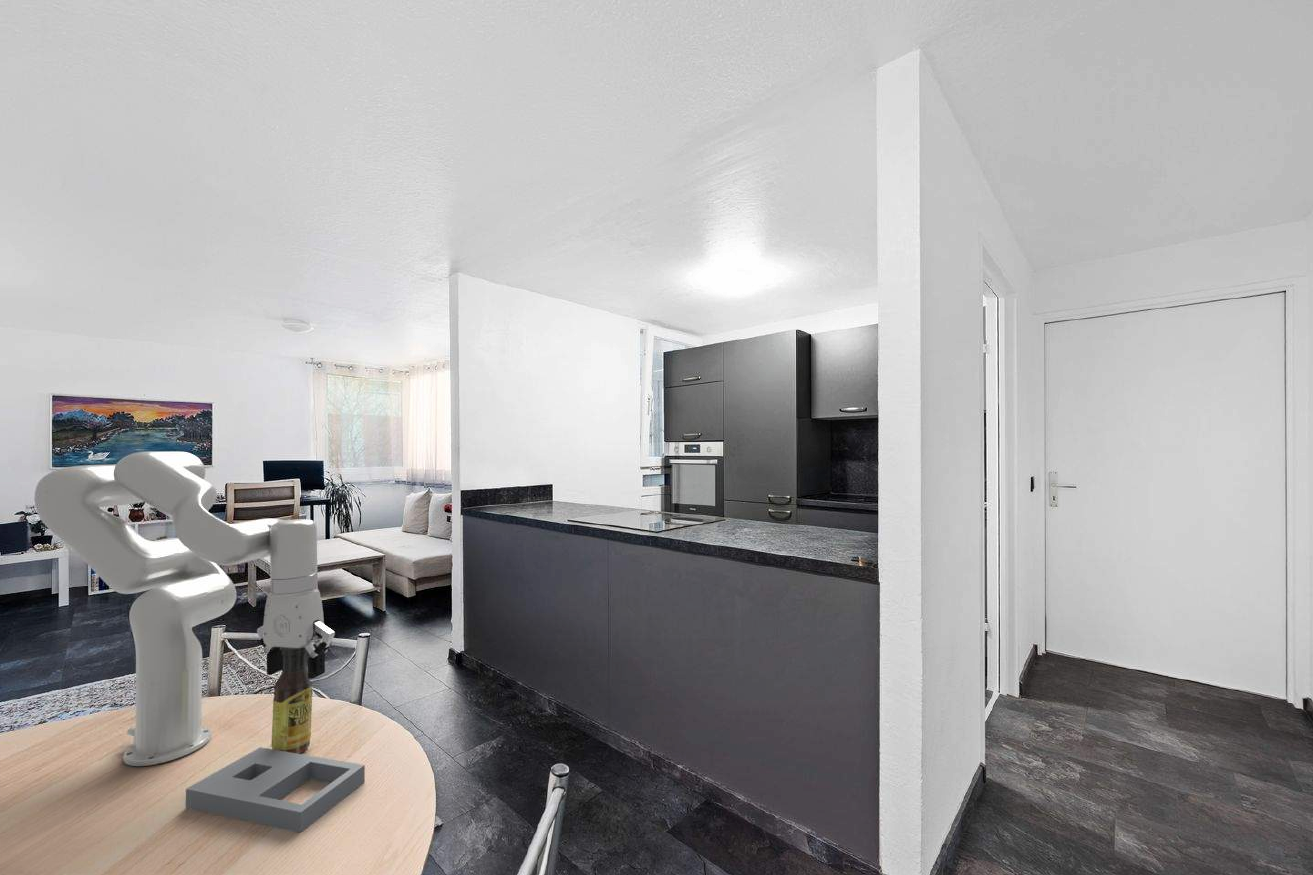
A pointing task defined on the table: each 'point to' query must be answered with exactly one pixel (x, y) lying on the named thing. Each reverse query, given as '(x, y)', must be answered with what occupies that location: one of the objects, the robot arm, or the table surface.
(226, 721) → the table surface
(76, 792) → the table surface
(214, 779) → the caddy
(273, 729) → the sauce bottle
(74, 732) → the table surface
